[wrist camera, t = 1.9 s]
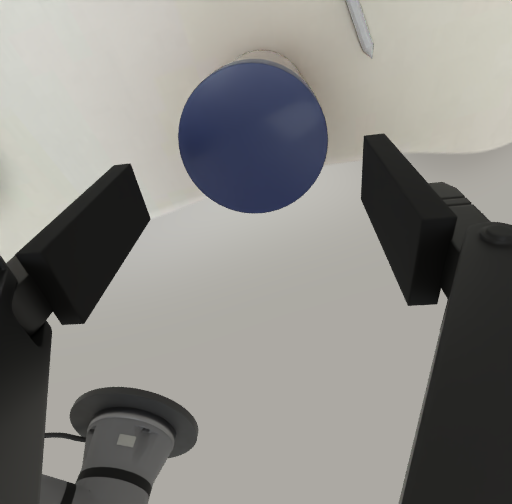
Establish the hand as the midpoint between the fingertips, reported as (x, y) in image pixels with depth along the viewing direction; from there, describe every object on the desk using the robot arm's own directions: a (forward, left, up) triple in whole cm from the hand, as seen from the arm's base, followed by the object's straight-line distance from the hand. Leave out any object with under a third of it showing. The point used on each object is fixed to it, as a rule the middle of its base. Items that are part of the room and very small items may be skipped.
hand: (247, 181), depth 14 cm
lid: (0, 0, -5) cm, 5 cm away
